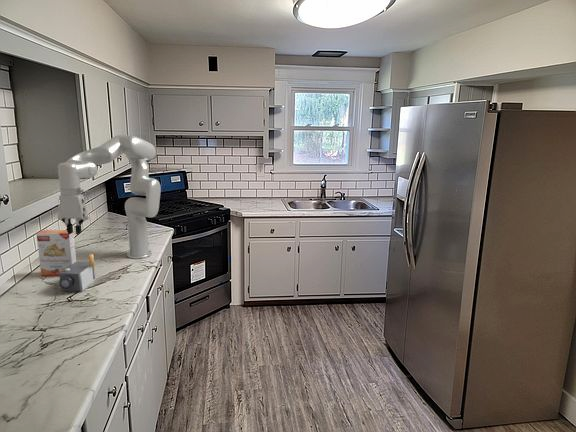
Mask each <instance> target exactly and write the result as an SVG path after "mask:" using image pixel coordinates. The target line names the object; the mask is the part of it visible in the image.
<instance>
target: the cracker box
mask: <svg viewBox="0 0 576 432" xmlns="http://www.w3.org/2000/svg"><path fill="white" fill-rule="evenodd" d="M36 240H37V249H38V251H37V252H38V259H39V265H40V266H39V267H40V274H41V276H42V277H43V276H44V277H47V276H48V277H49V276H53V277H54V276H55V277H56V276H57V277H58V276H59V273H60V272H62V271H63V270H65V269H66V268H68V267H69V266H70V265H72V264H73V263H75V262H77V253H76V244H75V243H76V242H75V233H74V230H73V233H71V234H68V232H67V229H66V230H65V229H41V230H40V231H38V232H37V233H36Z"/></svg>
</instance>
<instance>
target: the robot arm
mask: <svg viewBox="0 0 576 432" xmlns="http://www.w3.org/2000/svg"><path fill="white" fill-rule="evenodd" d="M123 154H124V155H125V157H126V158H127V159H128V161H129V163H130V165H131V175H130V184H129V185H130V186H129V191H130V192H131V194H133V195H136V196H135V197H129V198H128V199H126V201H125V203H124V210H125V214H126V218H127V226H128V227H127V229H128V243H129V244H128V245H129V251H128V252H127V253H126V257H127V258H129V259H134V260H135V259H139V260H140V259H145V258H148V257H151V256H152V254H153V252H152V251H151V249H149V245H150V244H149V236H148V232H149V231H148V222H147V219H146V218H154V217H156V216H157V214H159V213H158V212H159V209H160V200H161V192H162V187H161V183H160V181H159V180H158V179H156V178H152V177H150V176H149V173H150V169H149V168H150V166H149V164H148V162H147V161H151V160H153V159H154V158H155V157H156V155H157V150H156V147H155V146H154V144H152V143H150V142H148V141H147V140H144V139H143V138H141V137H139V136H135V135H127V134H126V135H124V134H118V135H114V136H113V137H111V138H110V139H108V140H107V141H105V142H104V143H102V144H101V145H99V146H97V147H94V148H90V149H87V150H85V151H82V152H79V153H77V154H75V155H72V157H70V158H69V159H68V160H66V161H65V162H60V163H59V164H58V165H57V174H58V175H57V176H58V182H59V192H60V194H59V195H60V196H59V195H58V201H59V200H60V204H59V205H58V207H57V208H58V215H57V217H56V218H57V220H59V221H61V222H62V223H64V225H65V226H66V230H67V232H68V234H71V233H73V231H74V227H75V235H80V234H82V233H81V232H82V230H83V229H82V224H83V223H84V222H85V221H88V220H89V219H90V218H89V216H88V211H87V206H86V200H85V198H84V195H83V193H84V189H81V185H80V184H81V183H80V180H81V179H91V178H95V176H96V175H97V174H98V167H97V166H98V165H99V166H101V165H105V164H110V163H112V162H113V161H114V160H116V159H117V158H119V157H120V156H122V155H123ZM137 196H145V198H143V197H137ZM73 219H75V226H74V227H73V223H72V220H73Z"/></svg>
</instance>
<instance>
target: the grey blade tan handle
mask: <svg viewBox="0 0 576 432" xmlns="http://www.w3.org/2000/svg"><path fill="white" fill-rule="evenodd" d="M87 257H88V262H89V267H87V268H86V269H85V270H84V271H82V272H81V273H79V274H78V278H79V288H80V291H79V292H80V293H81V292H83V291H84V290H85V289H87V288H88V287H89V286H90V285H91V284H92V283H93V282H94V280H93V271H92V267H94V268H95V260H94V259H95V258H94V253H89V254H88V256H87Z"/></svg>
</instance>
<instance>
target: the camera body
mask: <svg viewBox="0 0 576 432" xmlns="http://www.w3.org/2000/svg"><path fill="white" fill-rule="evenodd" d="M87 267H89V261H76V262H75V263H73V264H72V265H70V266H69V267H68V268H66V269H65V270H63V271H62V272H60V273H59V275H58V277H59V286H60V291H61V292H80V288H79V278H78V274H79V273H81V272H82V271H84V270H85V269H86V268H87ZM92 271H93V281H94V280H96V278H95V277H96V276H95V275H96V274H95V266H94V267H92Z"/></svg>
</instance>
